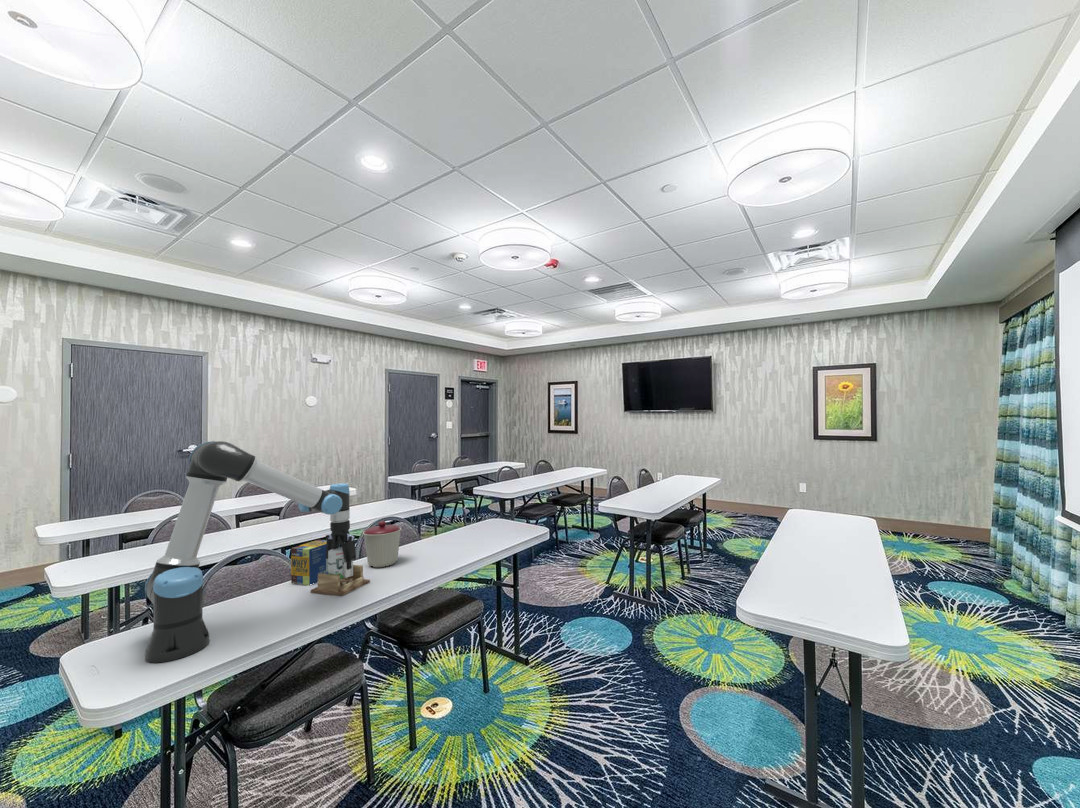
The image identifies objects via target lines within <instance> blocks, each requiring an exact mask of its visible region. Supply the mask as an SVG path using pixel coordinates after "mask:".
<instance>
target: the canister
mask: <svg viewBox="0 0 1080 808" xmlns="http://www.w3.org/2000/svg"><path fill="white" fill-rule="evenodd" d="M401 531H402V527H401V526H398V525H396V524H387V521H385V520H380V521H379V522H378V525H374V526H371V527H368V528H366V529H365V530H364V531H362V535H363V538H364V545H365V553H366V559H367V563H368V565H369V566H370V567H371V566H373V567H372V568H386V567H390V566H392V565H395V564H396V563H397V561H398V558H399V549H400V548H399V547H400V538H401ZM389 565H390V566H389ZM385 566H386V567H385Z"/></svg>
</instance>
